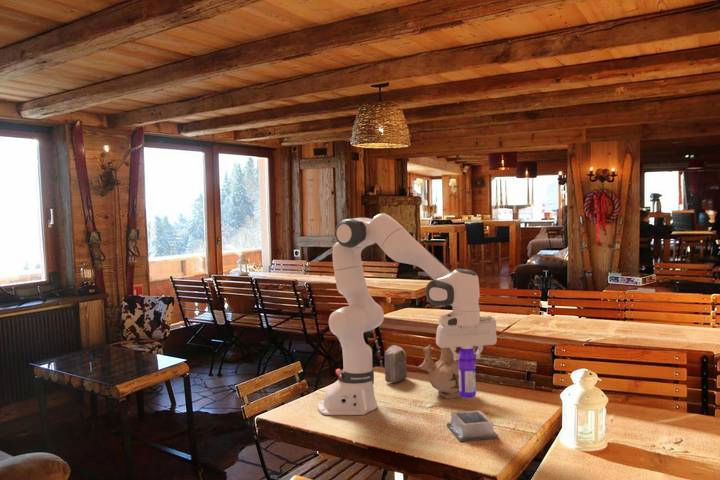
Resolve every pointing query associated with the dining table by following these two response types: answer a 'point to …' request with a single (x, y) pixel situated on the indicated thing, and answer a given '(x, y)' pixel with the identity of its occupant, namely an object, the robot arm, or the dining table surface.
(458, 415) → the bottle holder
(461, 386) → the bottle
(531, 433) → the dining table surface
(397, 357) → the geological specimen
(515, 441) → the dining table surface
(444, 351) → the ceramic vessel
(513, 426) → the dining table surface
